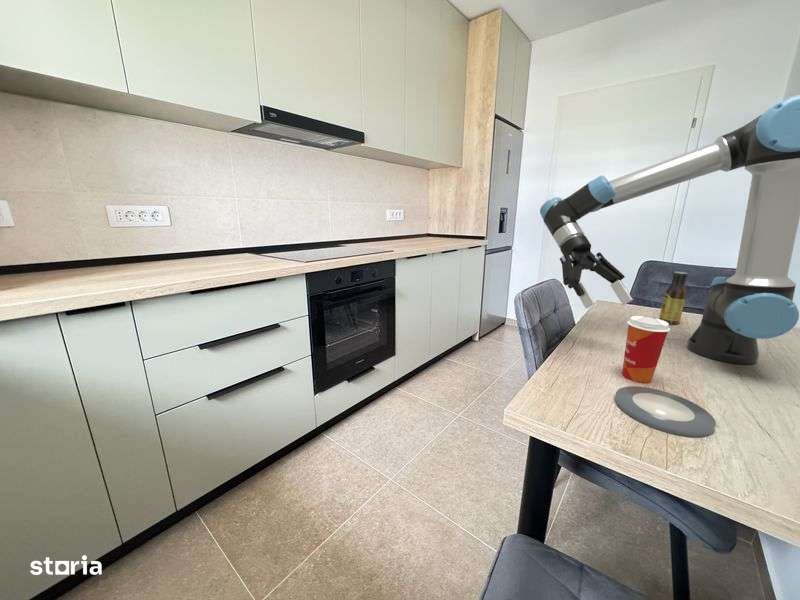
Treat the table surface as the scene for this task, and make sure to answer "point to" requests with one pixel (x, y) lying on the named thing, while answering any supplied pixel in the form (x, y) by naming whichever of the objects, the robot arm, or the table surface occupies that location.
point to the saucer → (665, 411)
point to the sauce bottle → (674, 299)
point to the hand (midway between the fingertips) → (609, 304)
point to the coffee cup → (643, 347)
